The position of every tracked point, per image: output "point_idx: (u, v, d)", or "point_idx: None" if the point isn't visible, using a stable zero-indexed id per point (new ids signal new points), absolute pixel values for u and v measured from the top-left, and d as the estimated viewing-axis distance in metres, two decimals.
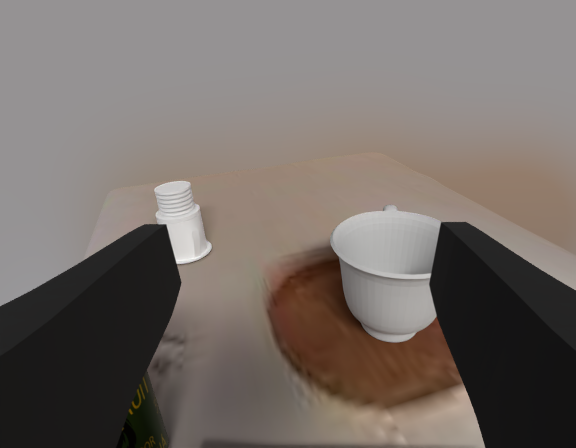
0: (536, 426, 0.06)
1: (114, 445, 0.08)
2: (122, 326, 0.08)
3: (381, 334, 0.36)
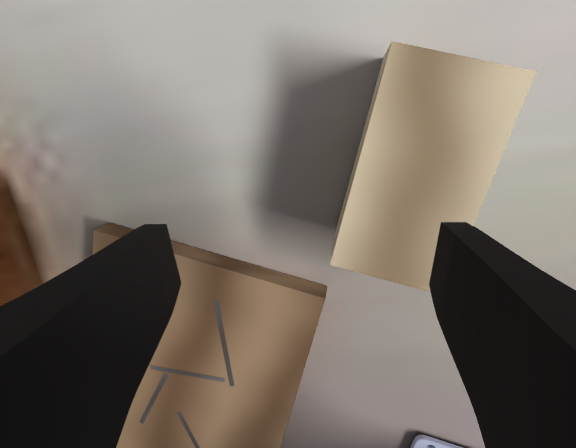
0: (536, 426, 0.06)
1: (113, 445, 0.08)
2: (122, 326, 0.08)
3: None
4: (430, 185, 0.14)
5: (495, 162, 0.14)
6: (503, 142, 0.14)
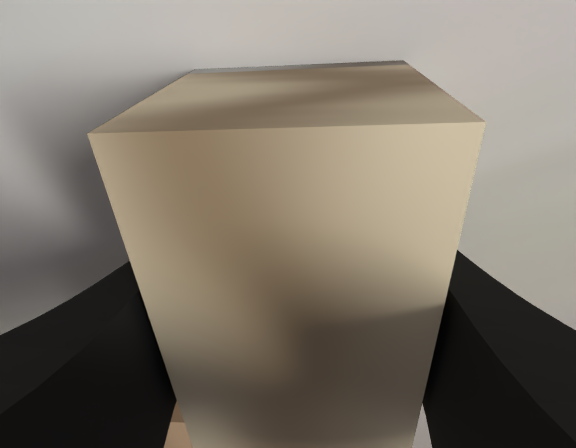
0: (465, 423, 0.06)
1: (161, 447, 0.07)
2: None
3: None
4: (315, 369, 0.07)
5: (433, 318, 0.06)
6: (440, 282, 0.06)
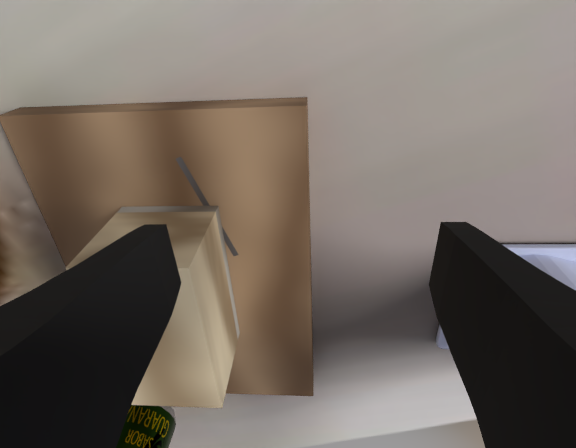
0: (536, 426, 0.06)
1: (113, 444, 0.08)
2: (122, 326, 0.08)
3: None
4: (163, 349, 0.17)
5: (199, 327, 0.16)
6: (196, 314, 0.16)
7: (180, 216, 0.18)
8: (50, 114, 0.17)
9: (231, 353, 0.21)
